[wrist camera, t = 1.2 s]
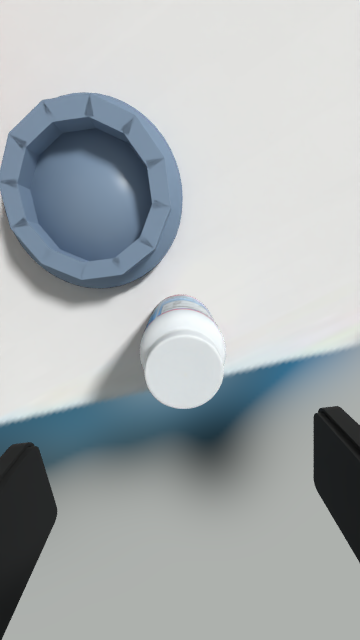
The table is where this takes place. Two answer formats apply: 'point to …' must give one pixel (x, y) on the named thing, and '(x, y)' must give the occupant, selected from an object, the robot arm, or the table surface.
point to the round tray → (91, 190)
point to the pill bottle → (182, 353)
